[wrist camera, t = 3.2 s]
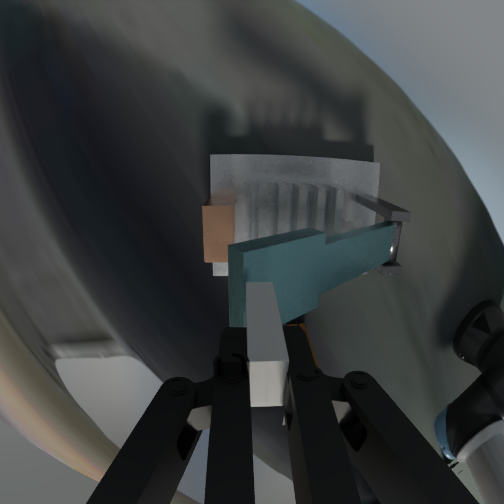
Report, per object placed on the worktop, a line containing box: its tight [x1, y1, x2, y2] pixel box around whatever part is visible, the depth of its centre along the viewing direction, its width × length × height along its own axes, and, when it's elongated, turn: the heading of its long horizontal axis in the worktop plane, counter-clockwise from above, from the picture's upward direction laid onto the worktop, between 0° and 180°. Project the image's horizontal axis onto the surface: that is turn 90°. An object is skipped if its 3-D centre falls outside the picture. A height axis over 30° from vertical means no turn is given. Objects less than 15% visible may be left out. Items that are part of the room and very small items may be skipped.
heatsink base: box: [202, 154, 411, 276], centre depth 32 cm, size 22×16×12 cm
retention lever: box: [228, 218, 402, 327], centre depth 23 cm, size 21×6×2 cm
